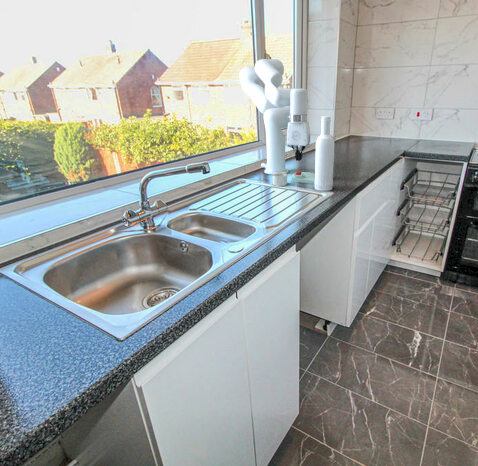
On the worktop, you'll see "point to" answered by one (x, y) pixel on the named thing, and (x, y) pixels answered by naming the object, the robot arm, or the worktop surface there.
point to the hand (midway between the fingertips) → (298, 160)
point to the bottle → (324, 157)
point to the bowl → (280, 179)
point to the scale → (304, 177)
